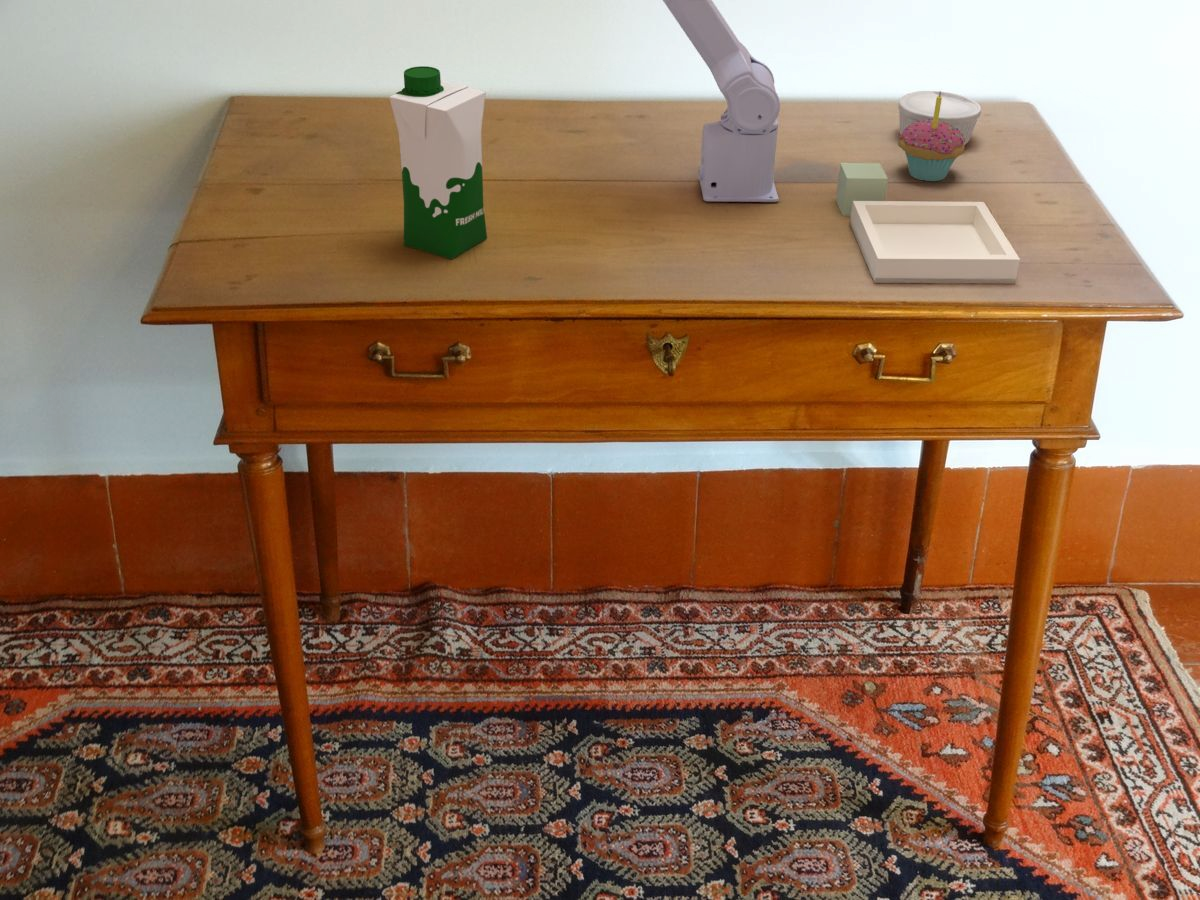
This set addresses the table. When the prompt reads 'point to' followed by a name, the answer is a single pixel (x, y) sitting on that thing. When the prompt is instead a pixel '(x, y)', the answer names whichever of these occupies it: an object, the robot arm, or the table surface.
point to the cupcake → (931, 146)
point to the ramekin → (952, 110)
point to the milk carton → (440, 162)
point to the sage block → (860, 184)
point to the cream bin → (933, 242)
